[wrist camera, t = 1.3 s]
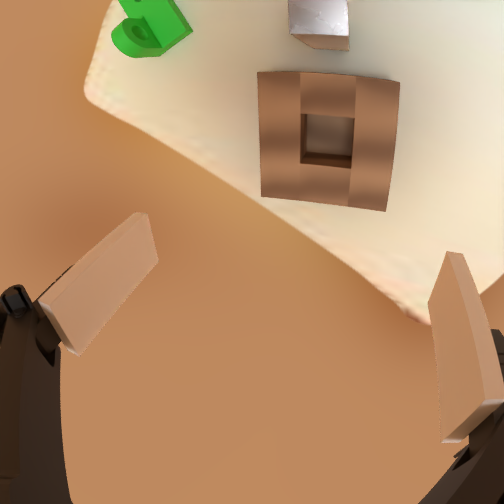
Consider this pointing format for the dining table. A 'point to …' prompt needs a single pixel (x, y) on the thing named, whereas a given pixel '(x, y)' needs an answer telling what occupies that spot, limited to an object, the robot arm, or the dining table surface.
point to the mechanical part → (149, 28)
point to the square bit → (320, 23)
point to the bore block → (327, 137)
